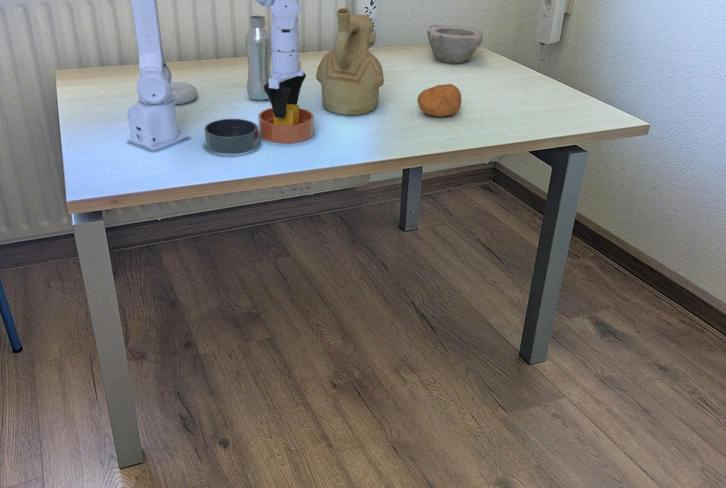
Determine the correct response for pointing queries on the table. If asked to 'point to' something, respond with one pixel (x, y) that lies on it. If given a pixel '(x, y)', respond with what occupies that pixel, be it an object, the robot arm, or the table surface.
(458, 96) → the potato
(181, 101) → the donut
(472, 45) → the mortar
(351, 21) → the ceramic vessel
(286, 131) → the bowl
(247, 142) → the pot
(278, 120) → the block
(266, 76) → the silver bottle
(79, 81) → the table surface
